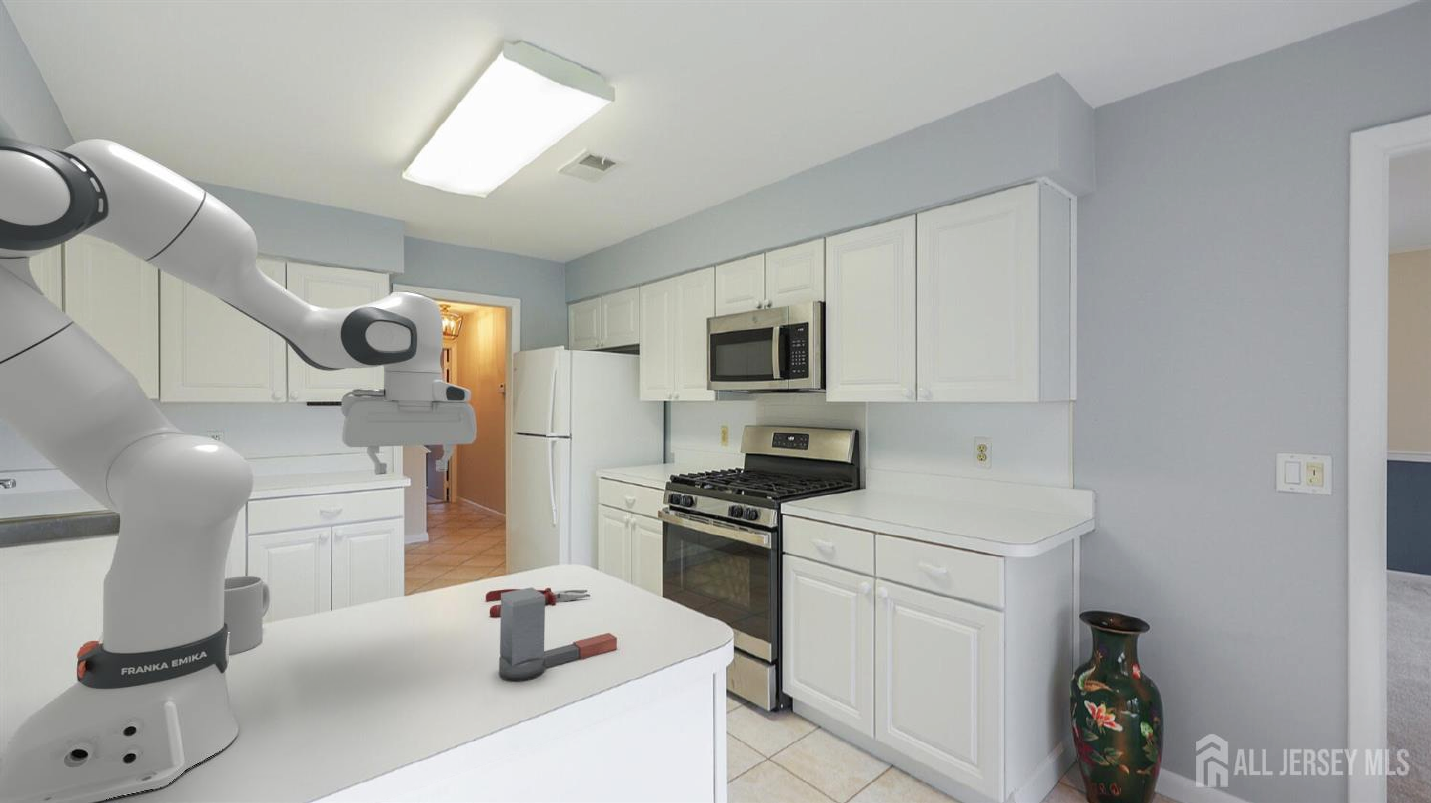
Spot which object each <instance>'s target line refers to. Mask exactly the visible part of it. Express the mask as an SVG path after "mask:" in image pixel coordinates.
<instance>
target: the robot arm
mask: <svg viewBox="0 0 1431 803" xmlns="http://www.w3.org/2000/svg"><path fill="white" fill-rule="evenodd" d="M78 235H85V236H86V235H87V236H91V237H93V238H98V239H100V240H103V241H106V242H108V243H110V244H112V243H113V244H114V245H116V246H117V247H119V248H120V249H122V250H124V251H125V252H127V253H129V254H131V255H133V256H134V257H137V258H138V259H140V260H142V261H144V262H145V263H147V264H148V265H150V266H153V267H155V268H156V269H159V270H161V271H162V272H164V273H166V274H168V275H171V276H172V277H175V278H176V279H178V280H180V281H183V282H185V283H188V284H190V285H191V286H194V287H196V288H198V289H200V290H202V291H203V292H206V293H208V294H210V295H212V296H214V297H216V298H218V299H219V300H220V301H223V302H224V303H226V304H227V305H229V306H231V307H232V308H234V309H235V310H236V311H239V312H240V313H241V314H242V313H243V315H245V316H247V317H249V318H250V319H252V320H254V321H256V322H257V323H259V324H261V325H262V326H264V327H265V328H267V329H269V330H270V331H272V332H273V333H275V334H277V336H279V337H281V338H282V339H283V340H284V341H285V342H286V343H287V344H288V345H289V346H290V348H292V350H293V351H294V352H295V353H296V355H297V356H298V357H299V358H300V359H301V360H302V361H303V362H305V363H306V364H307V365H309V366H311V367H312V368H314V369H317V370H320V371H327V372H329V371H330V372H332V371H340V370H345V369H367V368H369V369H370V368H371V369H373V368H378V367H381V366H383V389H361V388H359V389H357V388H355V389H352V391H349V392H346V393H345V394H344V395H343V396H342V398H341V406H340V408H341V414H343V416H344V421H343V427H342V432H341V433H342V434H341V435H342V436H341V439H342V442H343V444H344V445H345V446H347V447H349V448H366V453H367V455H368V456H369V458H370V459H371V461H372V463H373V464H374V475H375V476H378V475H380V476H381V475H387V465H388V464H387V463H386V462H381V461H380V459H379V458H378V456H377V455H376V454H380V447H404V446H405V447H406V446H441V445H442V451H445V452H444V453H443V455H442V457H441V459H439V460H438V459H437V460H435V465H436V466H435V471H436V472H447V471H448V467H449V466H448V463H449V462H448V461H450V459H451V457H452V455H453V454H454V452H455V451H456V448H455V447H456V445H469V444H470V445H471V444H473V443H474V441H475V440H476V439H477V435H478V434H477V419H476V412H475V409H474V407H473V406H472V405H471V404H470V403H468V402H470V401H471V399H472V392H471V390H469V389H467V388H464V387H462V386H458V385H455V384H453V383H450V382H447V381H444V380H443V368H442V365H441V357H442V356H441V355H442V352H443V349H444V330H443V329H444V328H443V327H444V326H443V316H442V312H441V309H440V305H439V304H438V302H437V301H436V300H434V299H433V298H431V297H430V296H427V295H426V294H421V293H420V292H412V291H407V290H395V291H393V292H391V293H390V294H389V295H388V296H386V297H383V298H381V299H378V300H375V301H373V302H369V303H365V304H360V305H355V306H347V307H340V308H329V307H320V306H316V305H313V304H311V303H308V302H306V301H305V300H303V299H301V298H300V297H299V296H298V295H295V294H294V292H293V293H292V292H291V291H289V290H288V289H286V288H285V287H284V286H282V285H281V284H279V283H278V282H276V281H275V280H273V279H272V278H270V277H269V275H266V274H265V273H264V272H263V271H262V270H261V269H260V267H259V265H258V264H257V259H258V254H259V253H258V252H259V247H258V241H257V237H256V233H255V232H254V230H253V228H252V227H251V225H250V224H248V222H246V221H245V220H244V219H243V218H242V217H241V216H240V215H239V214H238V213H237V212H235V210H233V209H232V208H230V207H229V206H228V205H226V204H225V203H224V202H223V201H221V200H219V199H218V198H216V197H215V196H213V195H212V194H210V193H209V192H207V191H206V190H204V189H203V188H201V187H200V186H198V185H197V184H195V183H194V182H192V181H190V180H188V179H187V178H185V177H184V176H183V175H180V174H179V173H176V172H175V171H173V170H172V169H169V168H168V167H166V166H165V165H162V164H160V163H159V162H157V161H155V160H153V159H151V158H150V157H147V156H146V155H143V154H141V153H140V152H137V151H135V150H133V149H131V148H129V147H126V146H124V145H122V144H121V143H117V142H115V141H111V140H108V139H107V140H106V139H101V138H100V139H99V138H98V139H96V138H95V139H94V138H93V139H87V140H86V139H85V140H83V141H79V142H76V143H74V144H71V145H69V146H67V147H66V148H64V149H63V150H59V149H55V148H51V147H46V146H41V145H36V144H33V143H29V142H27V141H26V142H25V141H22V140H18V139H15V138H14V139H13V138H10V137H9V138H8V137H2V136H0V423H2V424H3V425H5V426H6V427H7V428H8V429H10V430H11V431H13V432H14V433H15V434H16V435H18V436H19V437H20V438H21V439H23V440H24V441H25V442H27V443H28V444H29V445H31V447H33V448H34V449H35V450H36V451H37V452H39V454H40V455H41V456H43V457H44V458H45V459H46V460H47V461H49V463H51V464H52V465H53V466H54V467H56V468H57V469H58V470H59V471H60V472H61V473H62V474H63V475H64V476H66V477H67V478H68V479H70V480H71V481H72V482H73V483H74V484H76V485H77V486H78V487H79V488H80V489H82V490H83V491H84V492H86V493H87V494H88V495H89V496H91V498H93V499H94V500H95V501H97V502H98V504H101V506H103V507H104V508H106V509H107V510H108V511H111V512H113V513H116V514H118V515H119V518H120V519H119V520H120V522H119V530H118V537H117V541H116V546H115V550H114V554H113V558H112V561H111V564H110V568H109V570H108V571H107V573H106V574H105V575H104V576H105V577H104V579H103V586H102V588H103V589H102V590H103V591H102V592H103V594H102V595H103V596H102V597H103V600H102V602H103V603H102V606H103V607H102V643H100V641H98V640H89V641H87V642H85V643H83V644H82V646H80V648H79V650H78V651H77V653H76V658H77V665H76V680H77V681H76V683H75V684H73V685H72V686H70V687H69V688H68V689H66V690H65V691H64V692H62V693H60V695H58V696H57V697H55V698H54V699H52V700H51V701H50V702H49V703H47V704H46V705H44V706H43V707H41V708H39V710H37V711H35V712H34V713H33V714H32V715H30V716H29V717H28V718H27V719H25V720H24V722H23V723H22V724H21V725H20V726H19V727H18V728H17V730H16V731H15V732H14V733H13V735H12V737H11V738H10V740H9V741H8V744H7V746H6V747H5V750H4V752H3V753H4V754H3V755H2V759H1V763H0V803H98V802H103V801H106V799H107V800H111V798H112V799H114V798H113V797H116V798H118V797H117V796H120V795H124V794H129V793H133V792H138V791H139V793H141V792H140V791H144V790H149V789H153V790H156V789H160V787H161V788H164V787H166V786H168V785H170V784H171V783H173V782H174V781H175V780H174V779H176V778H177V777H178V776H179V777H181V776H182V775H183V774H184V773H185V772H184V771H185V770H186V769H187V768H190V767H191V766H193V765H195V764H197V763H199V762H201V761H202V760H204V759H206V758H208V757H210V756H212V755H214V754H215V753H217V752H218V753H220V752H221V751H223V750H224V749H226V748H227V747H228V746H229V745H230V744H231V743H233V741H234V740H235V739H236V737H237V736H238V734H239V729H240V728H239V725H238V723H237V721H236V718H235V714H234V713H233V709H232V705H231V701H230V695H229V691H228V690H229V689H228V683H227V682H228V681H227V676H226V674H227V673H226V670H227V668H228V664H229V662H230V661H229V660H230V655H229V633H228V626H227V624H226V623H225V622H224V587H225V576H226V566H227V558H228V554H229V549H230V545H231V542H232V538H233V536H234V535H233V533H234V530H235V528H236V523H237V520H238V519H237V518H238V516H239V512H240V511H241V510H242V509H243V507H244V506H245V505H246V503H247V502H248V500H249V499H250V496H251V495H252V494H251V493H252V491H253V486H254V475H253V471H252V469H251V466H250V465H249V463H248V462H247V460H246V459H245V458H244V457H243V456H242V455H241V454H240V453H238V452H237V451H236V450H235V449H234V448H232V447H230V446H229V445H227V444H226V443H224V442H222V441H220V440H218V439H216V438H212V437H209V436H205V435H204V436H203V435H195V434H188V433H186V432H184V431H182V430H180V429H179V428H178V427H176V426H175V425H174V424H173V423H172V422H170V420H168V418H167V417H166V416H165V415H164V414H163V413H162V412H161V411H160V409H159V408H158V407H157V406H156V405H155V404H154V402H153V401H152V399H150V397H149V396H148V394H147V393H146V392H145V391H144V390H143V388H142V387H141V386H140V384H139V382H138V379H137V377H135V375H134V374H133V373H131V371H130V370H129V369H127V368H126V367H125V366H124V365H123V364H122V363H121V362H120V361H119V360H117V359H116V358H115V357H114V356H113V355H112V354H111V353H110V352H109V351H108V350H107V349H106V348H105V347H104V346H102V345H101V344H100V343H99V342H98V341H97V340H96V339H95V338H94V337H92V336H91V335H90V334H89V333H87V331H85V329H83V328H82V327H81V326H80V325H79V324H78V323H77V322H76V321H74V320H73V319H72V317H70V316H69V315H68V314H67V313H65V311H63V310H62V309H61V308H60V307H59V306H57V305H56V303H54V302H52V301H51V300H50V298H49V299H48V297H46V296H45V295H46V294H45V293H44V292H43V290H42V289H41V288H40V286H38V284H37V282H36V281H35V279H34V276H33V275H32V271H31V267H30V262H31V257H32V258H33V257H36V256H38V255H40V254H43V253H46V252H48V251H50V250H51V249H53V248H54V247H56V246H59V245H61V244H64V243H65V242H68V241H70V240H71V239H73V238H75V237H76V236H78ZM222 749H223V750H222ZM219 751H220V752H219ZM218 753H217V754H218ZM215 755H216V754H215ZM215 755H214V756H215ZM212 757H213V756H212ZM210 758H211V757H210ZM208 759H209V758H208ZM206 760H207V759H206ZM201 763H202V762H201ZM199 764H200V763H199ZM197 765H198V764H197ZM195 766H196V765H195ZM193 767H194V766H193ZM191 768H192V767H191ZM191 768H190V769H191ZM183 772H184V773H183ZM182 773H183V774H182ZM181 774H182V775H181ZM180 775H181V776H180ZM179 777H178V778H179ZM178 778H177V779H178ZM177 779H176V780H177ZM173 780H174V781H173ZM172 781H173V782H172ZM170 782H171V783H170ZM169 783H170V784H169ZM149 791H150V790H149ZM144 792H145V791H144ZM109 798H110V799H109Z"/></svg>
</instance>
